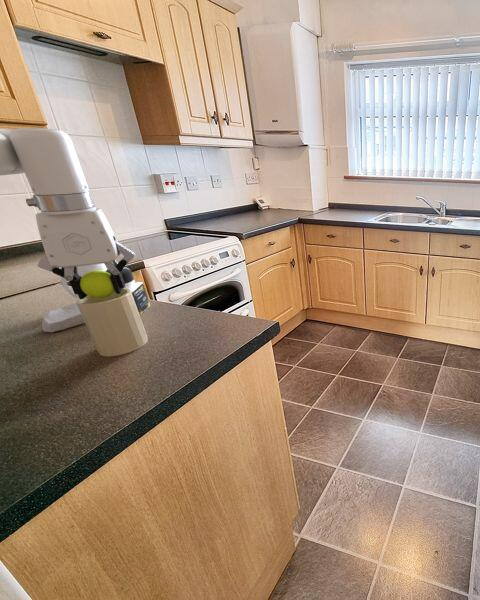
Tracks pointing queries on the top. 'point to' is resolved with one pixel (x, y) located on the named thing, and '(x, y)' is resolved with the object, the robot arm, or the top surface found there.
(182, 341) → the top surface
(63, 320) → the soap bar
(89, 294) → the ball
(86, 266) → the mug
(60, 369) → the top surface
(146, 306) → the medicine bottle
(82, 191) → the robot arm
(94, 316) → the beige octagonal cup
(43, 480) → the top surface
